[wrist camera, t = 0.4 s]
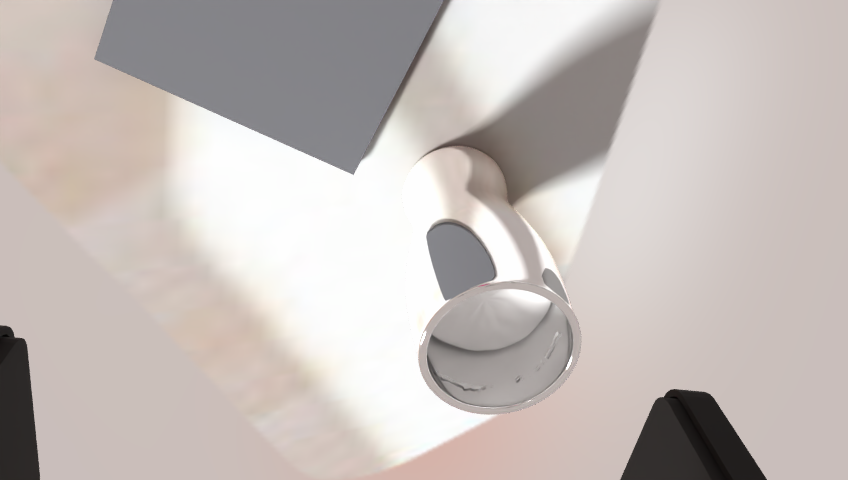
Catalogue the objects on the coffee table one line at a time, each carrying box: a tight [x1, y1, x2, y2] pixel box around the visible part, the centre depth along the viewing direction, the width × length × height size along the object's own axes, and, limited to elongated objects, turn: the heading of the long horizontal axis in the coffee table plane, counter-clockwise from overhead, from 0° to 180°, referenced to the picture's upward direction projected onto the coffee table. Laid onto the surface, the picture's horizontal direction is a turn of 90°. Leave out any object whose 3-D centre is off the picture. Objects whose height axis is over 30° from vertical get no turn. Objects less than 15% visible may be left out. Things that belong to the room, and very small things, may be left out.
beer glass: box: [402, 146, 581, 414], centre depth 34 cm, size 7×7×15 cm
